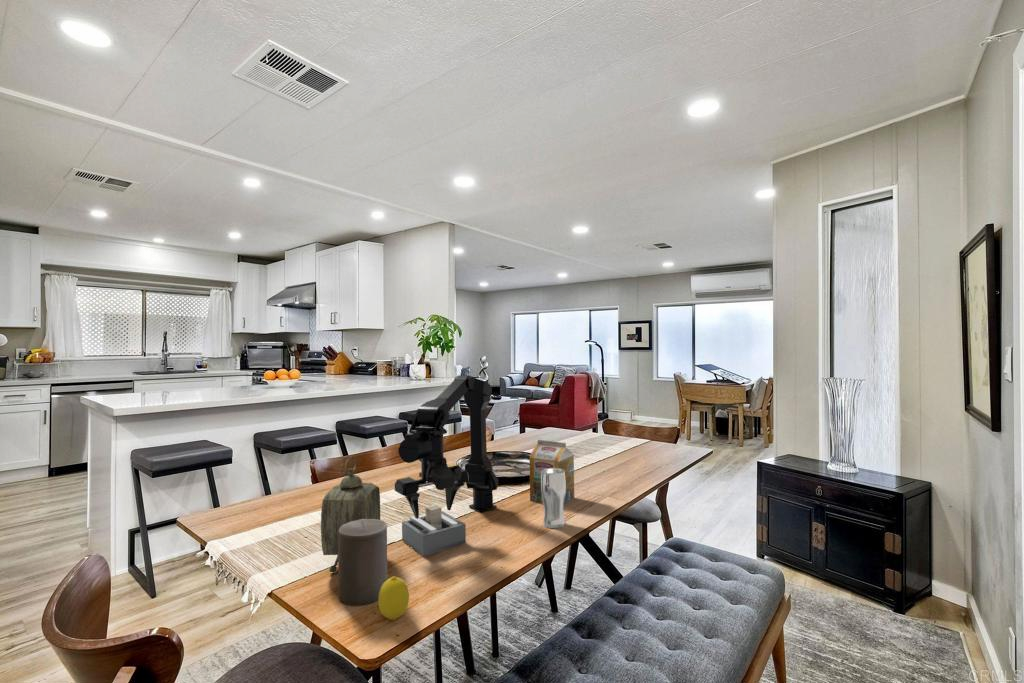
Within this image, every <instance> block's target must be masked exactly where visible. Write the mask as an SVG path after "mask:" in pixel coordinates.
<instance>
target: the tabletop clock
mask: <svg viewBox="0 0 1024 683" xmlns="http://www.w3.org/2000/svg"><path fill="white" fill-rule="evenodd" d="M351 460H354V466H353V468H352V467H350V468H349V469H348V468H347V467H348V465H349V462H350V461H351ZM357 466H358V460H357V457H356V456H355V455H350V456H349V457H348V458H347V459H346V461H345V464H344V474H345V475H346V476H344V477H343V478H342V479H341V482H340V483H338V484H336V485H335V486H333V487H332V488H331V489H330V490H329V491H327V493H326V494H325V495H324V497H323V499H322V502H321V513H320V536H321V537H320V539H321V552H322V554H323V556H336V559H335V561H334V564H333V565H331V566H330V567H329V570H328V571H330V572H335V571H336V572H337V571H338V570H337V568H338V567H337V566H338V554H339V551H338V549H339V546H338V542H339V529H340V527H341V526H342V525H344V524H346V523H348V522H351V521H356V520H360V519H377V520H381V492H380V487H379V486H378V485H377V484H374V483H372V482H363V481H362V478H361V477H360V476H359V475H356V474H354V473H355V472H356V470H357ZM347 469H348V470H347ZM330 572H329V573H330ZM336 572H335V573H336Z"/></svg>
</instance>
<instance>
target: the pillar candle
mask: <svg viewBox="0 0 1024 683" xmlns="http://www.w3.org/2000/svg"><path fill="white" fill-rule="evenodd" d="M338 546H339V549H338V551H339V554H338V564H337V566H338V567H337V568H338V570H337V571H338V573H337V574H338V576H337V578H338V596H339V598H338V600H339V599H340V600H339V602H341V603H342V604H345V605H347V606H354V607H355V606H356V607H357V606H364V605H368V604H372V603H375V602H377V601H378V598H379V592H380V589H381V586H382V585H383V583H384V582H385V581H386V580H388V522H385V521H384V520H381V519H380V520H377V519H360V520H356V521H351V522H348V523H346V524H344V525H342V526H341V527H340V529H339V542H338Z"/></svg>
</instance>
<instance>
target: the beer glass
mask: <svg viewBox="0 0 1024 683" xmlns="http://www.w3.org/2000/svg"><path fill="white" fill-rule="evenodd" d="M541 492H542V499H543V504H542V505H543V510H544V516H543V521H542V524H543V526H544V527H545V528H548V529H560V528H563V527H565V525H566V522H565V517H564V507H565V504H564V501H565V493H566V480H565V471H564V470H563V469H559V468H547V469H543V470H542V475H541Z"/></svg>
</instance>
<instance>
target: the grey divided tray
mask: <svg viewBox="0 0 1024 683" xmlns="http://www.w3.org/2000/svg"><path fill="white" fill-rule="evenodd" d="M441 516H442V529H440V530H437V529H436V528H434V527H433V526H431V525H429V524H428V523H426V515H422V516H419V518H418V519H416V518H415V516H414V515H411V516H409V519H407V520H402V521H401V540H403V541H404V542H405V544H406V545H407V544H408V545H409V546H408V545H407V546H408V547H409V548H411V547H412V548H413V549H414V550H413V549H412V548H411V549H412V550H413V551H415V552H416V553H417V552H418V554H419V555H420V556H421V557H423V558H424V557H428V556H431V555H434V554H437V553H440V552H444V551H446V550H449V549H450V550H451V549H453V548H456V547H459V546H462V545H465V544H467V543H466V542H467V540H466V539H467V538H466V537H467V536H466V534H467V533H466V523H465V522H463V521H461V520H459V519H457V518H456V517H453V516H452V515H450V514H449V513H447V512H445V511H442V510H441ZM426 531H428V532H429V533H426ZM403 541H402V542H403ZM404 542H403V543H404Z"/></svg>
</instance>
